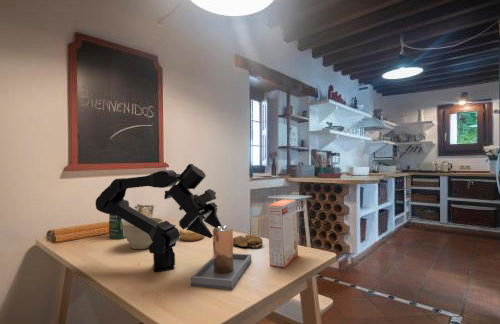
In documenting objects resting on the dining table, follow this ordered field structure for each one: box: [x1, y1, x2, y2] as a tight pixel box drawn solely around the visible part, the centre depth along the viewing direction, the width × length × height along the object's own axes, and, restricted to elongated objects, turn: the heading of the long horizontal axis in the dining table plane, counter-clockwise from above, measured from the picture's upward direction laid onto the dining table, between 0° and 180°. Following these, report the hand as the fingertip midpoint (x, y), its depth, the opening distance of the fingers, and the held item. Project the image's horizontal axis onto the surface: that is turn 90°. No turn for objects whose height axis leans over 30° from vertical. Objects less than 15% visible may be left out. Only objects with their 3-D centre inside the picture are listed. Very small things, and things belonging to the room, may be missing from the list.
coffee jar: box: [108, 199, 130, 240], centre depth 137 cm, size 10×8×19 cm
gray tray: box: [190, 252, 252, 291], centre depth 90 cm, size 13×22×2 cm, turn 166°
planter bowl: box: [122, 217, 163, 250], centre depth 121 cm, size 16×16×11 cm
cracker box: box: [267, 198, 299, 268], centre depth 100 cm, size 14×6×21 cm, turn 152°
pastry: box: [179, 226, 204, 242], centre depth 132 cm, size 12×12×9 cm
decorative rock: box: [233, 234, 264, 250], centre depth 119 cm, size 11×4×15 cm
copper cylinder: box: [212, 224, 234, 274], centre depth 90 cm, size 6×6×14 cm
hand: (217, 233), depth 91 cm, fingers open, 9 cm apart
